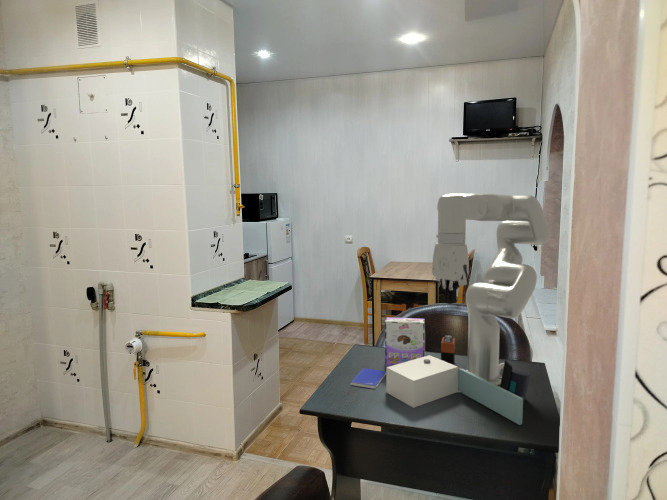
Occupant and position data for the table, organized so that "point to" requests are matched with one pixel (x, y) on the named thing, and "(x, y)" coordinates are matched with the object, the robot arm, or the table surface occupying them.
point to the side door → (491, 395)
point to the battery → (448, 349)
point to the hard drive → (368, 378)
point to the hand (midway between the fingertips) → (450, 302)
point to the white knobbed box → (421, 380)
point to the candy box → (404, 340)
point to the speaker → (515, 380)
